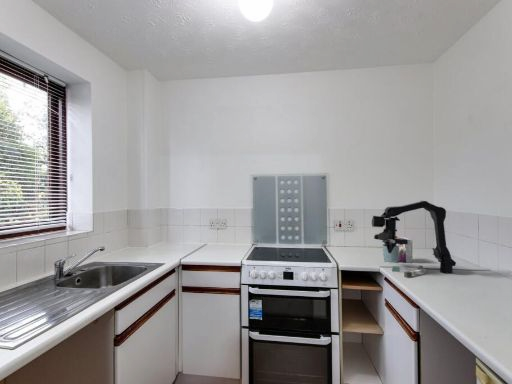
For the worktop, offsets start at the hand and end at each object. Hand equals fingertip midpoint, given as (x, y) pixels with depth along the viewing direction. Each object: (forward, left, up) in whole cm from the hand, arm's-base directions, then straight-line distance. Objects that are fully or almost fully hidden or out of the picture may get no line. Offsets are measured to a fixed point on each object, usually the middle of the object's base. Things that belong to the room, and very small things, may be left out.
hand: (389, 253), depth 152 cm
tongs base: (-4, +10, -11) cm, 15 cm away
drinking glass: (-17, -12, -11) cm, 23 cm away
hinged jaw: (-3, +7, -10) cm, 13 cm away
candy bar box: (-28, -10, -11) cm, 31 cm away
